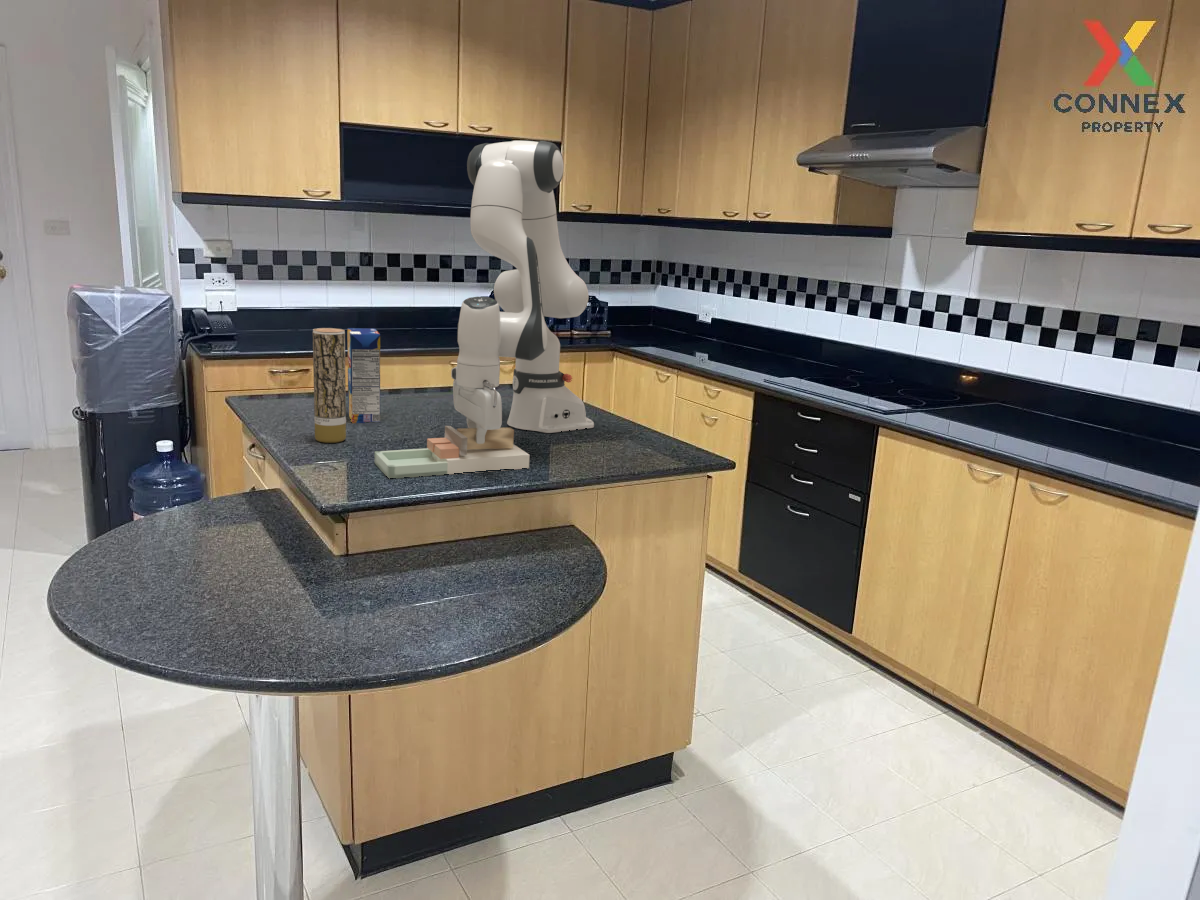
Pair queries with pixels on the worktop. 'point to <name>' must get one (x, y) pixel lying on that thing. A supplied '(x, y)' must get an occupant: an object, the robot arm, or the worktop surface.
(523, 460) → the board
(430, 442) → the tile
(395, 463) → the tray
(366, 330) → the beverage box
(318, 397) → the paper tube
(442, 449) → the tile
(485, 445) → the scraper
